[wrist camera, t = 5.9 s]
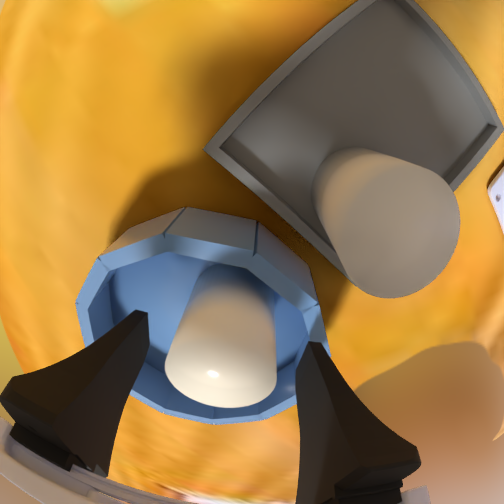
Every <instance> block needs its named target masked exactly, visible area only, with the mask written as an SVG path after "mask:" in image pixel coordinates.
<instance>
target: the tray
mask: <svg viewBox="0 0 504 504" xmlns="http://www.w3.org/2000/svg"><path fill="white" fill-rule="evenodd" d="M503 131H504V127H503V125H502V123H501V121H500V119H499V117H498V115H497V113H496V111H495V109H494V107H493V106H492V104H491V102H490V100H489V98H488V97H487V95H486V93H485V91H484V90H483V88H482V86H481V85H480V83H479V81H478V80H477V78H476V77H475V75H474V74H473V72H472V71H471V69H470V68H469V66H468V65H467V63H466V62H465V60H464V59H463V58H462V56H461V55H460V53H459V52H458V51H457V49H456V48H455V47H454V45H453V44H452V43H451V42H450V40H449V39H448V38H447V37H446V35H445V34H444V33H443V32H442V30H441V29H440V28H439V27H438V26H437V25H436V23H435V22H434V21H433V20H432V19H431V18H430V17H429V16H428V15H427V13H426V12H425V11H424V10H423V9H422V8H421V7H420V6H419V5H418V4H417V3H416V2H415V1H414V0H358V1H357V2H355V3H354V4H353V5H351V6H350V7H349V8H347V9H346V10H345V11H343V12H342V13H341V14H340V15H338V16H337V17H336V18H334V19H333V20H332V21H331V22H330V23H328V24H327V25H326V26H325V27H323V28H322V29H321V30H320V31H319V32H317V33H316V34H315V35H314V36H313V37H312V38H310V39H309V40H308V41H307V42H306V43H305V44H304V45H302V46H301V47H300V48H299V49H298V50H297V51H296V52H295V53H294V54H292V55H291V56H290V57H289V58H288V59H287V60H286V61H285V62H284V63H283V64H282V65H281V66H280V67H279V68H278V69H276V70H275V71H274V72H273V73H272V74H271V75H270V76H269V77H268V78H267V79H266V80H265V81H264V82H263V83H262V84H261V85H260V86H259V87H258V88H257V89H256V90H255V91H254V92H253V93H252V95H251V96H250V97H249V98H248V99H247V100H246V101H245V102H244V103H243V104H242V105H241V106H240V107H239V108H238V109H237V110H236V112H235V113H234V114H233V115H232V116H231V117H230V118H229V119H228V120H227V121H226V123H225V124H224V125H223V126H222V127H221V128H220V129H219V131H218V132H217V133H216V134H215V135H214V136H213V137H212V139H211V140H210V141H209V142H208V143H207V145H206V146H205V147H204V148H203V150H204V151H205V152H206V153H207V154H209V155H210V156H211V157H212V158H213V159H215V160H216V161H217V162H218V163H219V164H221V165H222V166H223V167H224V168H225V169H227V170H228V171H229V172H230V173H231V174H233V175H234V176H235V177H236V178H237V179H238V180H240V181H241V182H242V183H243V184H244V185H246V186H247V187H248V188H249V189H250V190H251V191H252V192H254V193H255V194H256V195H257V196H258V197H259V198H261V199H262V200H263V201H264V202H265V203H266V204H267V205H268V206H270V207H271V208H272V209H273V210H274V211H275V212H276V213H278V214H279V215H280V216H281V217H282V218H283V219H284V220H285V221H286V222H288V223H289V224H290V225H291V226H292V227H293V228H294V229H295V230H296V231H298V232H299V233H300V234H301V235H302V236H303V237H304V238H305V239H306V240H307V241H308V242H310V243H311V244H312V245H313V246H314V247H315V248H316V249H317V250H318V251H319V252H320V253H321V254H322V255H323V256H325V257H326V258H327V259H328V260H329V261H330V262H331V263H332V264H333V265H334V266H335V267H336V268H337V269H338V270H339V271H340V272H341V273H342V274H343V275H344V276H346V277H347V278H348V279H349V280H350V281H351V279H350V278H349V276H348V275H347V273H346V271H345V269H344V267H343V265H342V263H341V261H340V259H339V257H338V255H337V253H336V251H335V249H334V247H333V245H332V243H331V241H330V239H329V237H328V235H327V233H326V231H325V229H324V227H323V225H322V224H321V222H320V220H319V218H318V216H317V214H316V212H315V210H314V207H313V204H312V199H311V186H312V181H313V178H314V175H315V173H316V171H317V169H318V168H319V166H320V165H321V163H322V162H323V161H324V160H325V159H326V158H327V157H328V156H330V155H331V154H333V153H334V152H336V151H338V150H341V149H344V148H348V147H362V148H366V149H370V150H373V151H376V152H380V153H383V154H386V155H389V156H392V157H395V158H398V159H401V160H404V161H407V162H410V163H412V164H415V165H418V166H421V167H423V168H426V169H428V170H431V171H433V172H434V173H436V174H438V175H439V176H440V177H441V178H443V179H444V181H445V182H446V183H447V184H448V185H449V187H450V188H451V190H452V191H453V192H454V191H455V190H456V189H457V188H458V186H459V185H460V184H461V183H462V182H463V181H464V180H465V178H466V177H467V176H468V175H469V174H470V173H471V171H472V170H473V169H474V168H475V167H476V165H477V164H478V163H479V162H480V161H481V159H482V158H483V157H484V156H485V154H486V153H487V152H488V151H489V149H490V148H491V147H492V145H493V144H494V143H495V141H496V140H497V139H498V138H499V136H500V135H501V134H502V132H503ZM351 282H352V281H351ZM352 283H353V282H352ZM353 284H354V283H353ZM354 285H355V284H354ZM355 286H356V285H355Z"/></svg>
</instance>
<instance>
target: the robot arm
mask: <svg viewBox="0 0 504 504" xmlns="http://www.w3.org/2000/svg"><path fill="white" fill-rule="evenodd" d="M488 195H489V198H490V200H491V202H492V205H493V207H494V210H495V212H496V215H497V217H498V220H499V222H500V225H501V228H502V231H503V234H504V166H503V168H502V169H501V170H500V172H499V173H498V174H497V176H496V177H495V178H494V179H493V181H492V182H491V183H490V185H489V186H488ZM496 196H497V197H496ZM149 346H150V338H149V322H148V312H144V311H140V310H136V309H135V310H134V311H133V312H131V313H130V314H129V315H128V316H126V317H125V318H124V319H123V320H122V321H120V322H119V323H118V324H117V325H116V326H114V327H113V328H112V329H110V330H109V331H108V332H107V333H105V334H104V335H103V336H101V337H100V338H99V339H97V340H96V341H94V342H93V343H92V344H90V345H89V346H87V347H86V348H84V349H82V350H81V351H79V352H77V353H76V354H74V355H72V356H70V357H68V358H66V359H64V360H62V361H60V362H58V363H56V364H53V365H51V366H48V367H46V368H43V369H40V370H37V371H34V372H31V373H27V374H23V375H19V376H14V377H12V378H11V380H10V381H9V383H8V384H7V386H6V387H5V389H4V390H3V392H2V393H1V395H0V402H1V404H2V406H3V407H4V408H5V410H6V411H7V412H8V413H9V415H10V416H11V417H12V418H13V419H14V420H15V422H16V423H15V424H14V426H12V425H11V424H10V423H9V422H7V421H6V420H5V419H3V418H2V417H0V474H1V475H3V476H4V477H5V478H7V479H8V480H9V481H10V482H12V483H13V484H14V485H16V486H17V487H19V488H20V489H21V490H23V491H24V492H26V493H27V494H29V495H30V496H32V497H33V498H35V499H37V500H38V501H39V502H41V503H43V504H124V503H122V502H119V501H117V500H115V499H112V498H110V497H108V496H111V497H114V498H116V499H119V500H122V501H125V502H128V503H131V504H197V503H191V502H186V501H181V500H176V499H172V498H168V497H164V496H160V495H156V494H152V493H149V492H145V491H142V490H138V489H135V488H132V487H129V486H126V485H123V484H120V483H117V482H115V481H112V480H109V479H107V478H106V477H108V472H109V466H110V460H111V454H112V450H113V445H114V441H115V437H116V433H117V429H118V425H119V422H120V418H121V415H122V412H123V409H124V406H125V403H126V401H127V398H128V396H129V394H130V392H131V389H132V387H133V385H134V383H135V381H136V379H137V377H138V375H139V372H140V370H141V368H142V366H143V364H144V361H145V358H146V355H147V352H148V349H149ZM295 391H296V400H297V409H298V418H299V426H300V464H299V478H298V488H297V496H296V503H295V504H431V502H430V498H429V493H428V489H427V486H426V485H424V486H420V487H417V488H414V489H410V490H407V491H404V492H402V493H401V492H400V488H401V487H403V483H402V479H404V478H405V477H407V476H409V475H410V474H412V473H413V472H415V471H416V470H417V469H418V468H419V467H420V466H421V460H420V456H419V453H418V450H417V447H416V446H414V445H413V444H411V443H409V442H408V441H406V440H405V439H403V438H402V437H400V436H399V435H397V434H396V433H395V432H393V431H392V430H391V429H389V428H388V427H387V426H386V425H385V424H383V423H382V422H381V421H380V420H379V419H378V418H377V417H376V416H375V415H374V414H372V412H370V410H369V409H368V408H367V407H366V406H365V405H364V404H363V403H362V402H361V401H360V400H359V398H358V397H357V396H356V395H355V393H354V392H353V391H352V389H351V388H350V387H349V385H348V384H347V383H346V381H345V380H344V378H343V377H342V375H341V374H340V372H339V371H338V369H337V368H336V366H335V364H334V363H333V361H332V360H331V358H330V356H329V355H328V353H327V351H326V350H325V348H324V346H323V345H322V343H321V342H312V341H308V343H307V345H306V348H305V350H304V352H303V355H302V357H301V359H300V361H299V364H298V366H297V368H296V375H295ZM99 492H101V493H103V494H106V495H108V496H105V495H103V494H101V493H99Z"/></svg>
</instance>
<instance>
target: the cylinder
mask: <svg viewBox="0 0 504 504" xmlns="http://www.w3.org/2000/svg"><path fill="white" fill-rule="evenodd" d="M311 199H312V204H313V207H314V210H315V212H316V214H317V216H318V218H319V220H320V222H321V224H322V225H323V227H324V229H325V231H326V233H327V235H328V237H329V239H330V241H331V243H332V245H333V247H334V249H335V251H336V253H337V255H338V257H339V259H340V261H341V263H342V265H343V267H344V269H345V271H346V273H347V275H348V276H349V278H350V279H351V281H352V282H353V283H354V284H355V285H356V286H357V287H358V288H360V289H361V290H362V291H364V292H366V293H368V294H370V295H373V296H376V297H380V298H398V297H403V296H407V295H410V294H412V293H415V292H417V291H419V290H421V289H422V288H424V287H425V286H427V285H428V284H430V283H431V282H432V281H433V280H434V279H435V278H436V277H437V276H438V275H439V274H440V273H441V272H442V271H443V269H444V268H445V267H446V265H447V264H448V262H449V261H450V259H451V257H452V255H453V253H454V250H455V248H456V245H457V241H458V237H459V231H460V212H459V207H458V203H457V200H456V197H455V195H454V193H453V191H452V190H451V188H450V187H449V185H448V184H447V183H446V182H445V181H444V179H443V178H441V177H440V176H439V175H438V174H436V173H434V172H433V171H431V170H428V169H426V168H423V167H421V166H418V165H415V164H412V163H410V162H407V161H404V160H401V159H398V158H395V157H392V156H389V155H386V154H383V153H380V152H376V151H373V150H370V149H366V148H362V147H348V148H344V149H341V150H338V151H336V152H334V153H333V154H331V155H330V156H328V157H327V158H326V159H325V160H324V161H323V162H322V163H321V165H320V166H319V168H318V169H317V171H316V173H315V175H314V178H313V181H312V186H311Z"/></svg>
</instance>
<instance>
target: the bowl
mask: <svg viewBox="0 0 504 504" xmlns="http://www.w3.org/2000/svg"><path fill="white" fill-rule="evenodd" d="M221 263H223V264H228V265H233V266H237V267H242V268H246V269H248V270H249V271H250V272H251V273H253V274H254V275H255V276H256V277H258V278H259V279H260V280H262V281H263V282H264V283H265V284H267V285H268V286H269V287H270V288H272V289H273V291H274V299H275V329H276V367H277V381H276V385H275V388H274V390H273V391H272V392H271V394H270V395H269V396H267V397H266V398H265V399H263V400H262V401H260V402H258V403H255V404H252V405H249V406H244V407H236V408H224V407H215V406H210V405H206V404H203V403H200V402H198V401H195V400H193V399H191V398H189V397H187V396H186V395H184V394H183V393H181V392H180V391H179V390H178V389H176V388H175V387H174V386H173V384H172V383H171V382H170V380H169V379H168V377H167V375H166V372H165V361H166V358H167V355H168V352H169V349H170V347H171V344H172V341H173V339H174V336H175V333H176V331H177V328H178V325H179V323H180V320H181V318H182V315H183V312H184V310H185V307H186V305H187V302H188V300H189V297H190V295H191V292H192V289H193V287H194V284H195V282H196V280H197V278H198V277H199V276H200V275H201V274H202V273H203V272H204V271H205V270H206V269H208V268H210V267H212V266H214V265H217V264H221ZM75 304H76V309H77V314H78V319H79V323H80V327H81V332H82V336H83V340H84V344H85V348H86V347H87V346H89V345H90V344H92V343H93V342H94V341H96V340H97V339H99V338H100V337H101V336H103V335H104V334H105V333H107V332H108V331H109V330H110V329H112V328H113V327H114V326H116V325H117V324H118V323H119V322H120V321H122V320H123V319H124V318H125V317H126V316H128V315H129V314H130V313H131V312H133V311H134V310H135V309H136V310H140V311H144V312H148V322H149V338H150V346H149V349H148V352H147V355H146V358H145V361H144V364H143V366H142V368H141V370H140V372H139V375H138V377H137V379H136V381H135V383H134V385H133V387H132V389H131V392H130V395H131V396H133V397H135V398H136V399H138V400H140V401H142V402H143V403H145V404H147V405H149V406H150V407H152V408H154V409H156V410H158V411H159V412H161V413H163V412H164V414H167V415H171V416H175V417H179V418H184V419H188V420H193V421H197V422H202V423H207V424H215V425H219V424H232V423H243V422H252V421H260V420H264V419H268V418H270V417H272V416H274V415H276V414H278V413H280V412H282V411H284V410H286V409H288V408H289V407H291V406H293V405H295V404H297V400H296V391H295V375H296V368H297V366H298V364H299V361H300V359H301V357H302V355H303V352H304V350H305V348H306V345H307V343H308V341H312V342H321V343H322V345H323V346H324V348H325V350H326V351H327V353H328V355H329V356H330V357H331V354H330V350H329V345H328V340H327V336H326V332H325V327H324V323H323V319H322V314H321V310H320V306H319V302H318V298H317V294H316V291H315V287H314V283H313V279H312V276H311V272H310V268H309V266H308V264H307V263H306V262H305V261H304V260H302V259H301V258H300V257H299V256H298V255H297V254H296V253H294V252H293V251H292V250H291V249H290V248H289V247H288V246H286V245H285V244H284V243H283V242H282V241H281V240H280V239H278V238H277V237H276V236H275V235H274V234H273V233H272V232H270V231H269V230H268V229H267V228H266V227H265V226H263V225H262V224H261V223H260V222H258V223H257V224H256V220H252V219H247V218H242V217H238V216H233V215H228V214H223V213H218V212H212V211H207V210H202V209H197V208H192V207H187V208H185V207H183V208H181V209H178V210H175V211H172V212H170V213H167V214H164V215H162V216H159V217H156V218H154V219H151V220H148V221H146V222H143V223H141V224H138V225H136V226H133V227H131V228H129V229H128V230H127V231H126V232H124V233H123V234H122V235H121V236H120V237H119V238H118V239H117V240H116V241H115V242H113V243H112V244H111V245H110V246H109V247H108V248H107V249H106V250H105V251H104V252H103V253H102V254H101V255H100V256H99V257H98V258H97V259H96V261H95V263H94V265H93V267H92V269H91V270H90V272H89V274H88V276H87V278H86V280H85V282H84V284H83V286H82V289H81V291H80V293H79V295H78V297H77V299H76V303H75Z"/></svg>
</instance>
